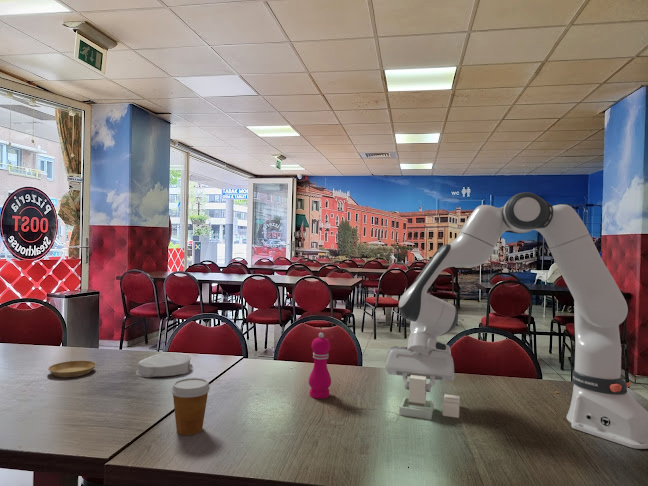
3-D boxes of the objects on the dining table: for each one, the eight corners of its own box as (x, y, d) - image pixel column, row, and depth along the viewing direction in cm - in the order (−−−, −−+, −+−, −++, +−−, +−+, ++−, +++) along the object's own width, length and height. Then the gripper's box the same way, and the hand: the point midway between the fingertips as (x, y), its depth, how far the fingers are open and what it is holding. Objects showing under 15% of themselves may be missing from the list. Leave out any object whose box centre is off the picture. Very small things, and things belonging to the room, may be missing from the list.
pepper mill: (328, 400, 136) (330, 335, 136) (305, 398, 137) (307, 334, 137) (332, 392, 143) (334, 331, 143) (311, 390, 144) (312, 329, 144)
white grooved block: (444, 403, 136) (444, 393, 136) (459, 405, 134) (459, 395, 134) (442, 415, 126) (442, 404, 126) (459, 418, 125) (459, 407, 125)
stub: (410, 400, 131) (411, 374, 131) (425, 402, 130) (426, 375, 130) (408, 405, 128) (409, 378, 127) (424, 407, 126) (425, 379, 126)
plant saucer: (84, 365, 166) (84, 358, 166) (103, 372, 157) (104, 365, 157) (40, 373, 154) (40, 366, 154) (59, 382, 145) (59, 374, 145)
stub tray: (403, 404, 134) (403, 396, 134) (433, 408, 132) (433, 401, 132) (399, 414, 126) (399, 407, 126) (431, 419, 123) (431, 411, 123)
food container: (183, 380, 152) (184, 361, 152) (125, 377, 152) (126, 358, 152) (199, 365, 172) (200, 347, 172) (149, 362, 172) (150, 345, 172)
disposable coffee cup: (187, 442, 105) (189, 392, 105) (161, 431, 110) (163, 384, 110) (216, 428, 113) (218, 381, 113) (191, 419, 118) (192, 375, 118)
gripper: (387, 340, 138) (381, 380, 129) (455, 346, 132) (453, 389, 123) (389, 351, 143) (383, 390, 133) (455, 357, 136) (453, 399, 127)
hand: (417, 389), depth 128 cm, fingers closed on stub, 4 cm apart
